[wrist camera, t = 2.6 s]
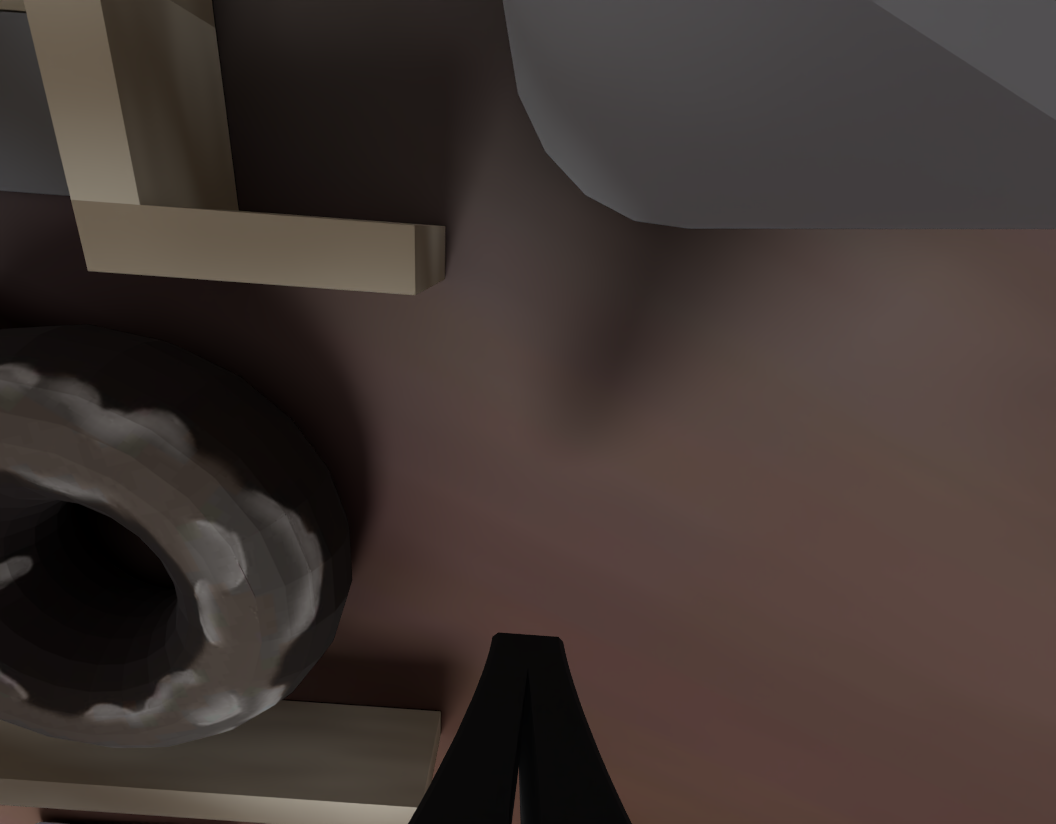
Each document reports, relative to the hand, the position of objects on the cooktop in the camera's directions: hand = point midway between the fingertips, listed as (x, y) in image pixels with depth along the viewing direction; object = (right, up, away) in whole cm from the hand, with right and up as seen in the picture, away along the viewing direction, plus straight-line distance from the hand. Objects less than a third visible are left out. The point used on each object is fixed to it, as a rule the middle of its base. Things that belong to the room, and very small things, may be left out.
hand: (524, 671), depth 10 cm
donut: (-10, +3, +5) cm, 12 cm away
